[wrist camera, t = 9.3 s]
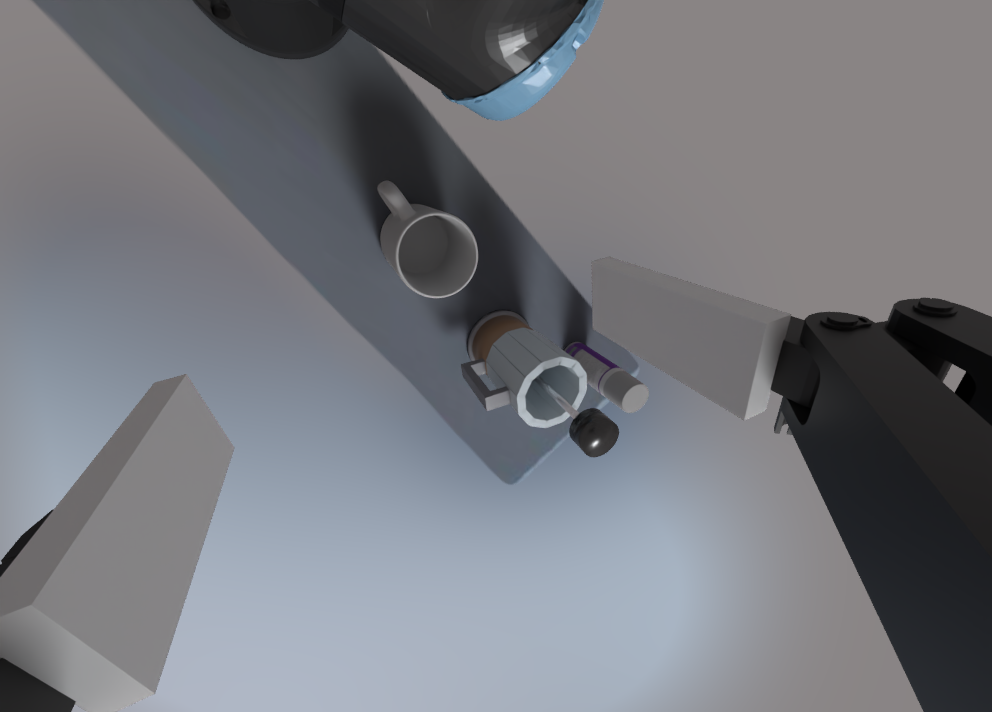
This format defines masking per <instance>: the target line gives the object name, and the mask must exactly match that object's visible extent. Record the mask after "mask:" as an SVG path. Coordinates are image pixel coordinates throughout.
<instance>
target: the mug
mask: <svg viewBox="0 0 992 712" xmlns="http://www.w3.org/2000/svg"><path fill="white" fill-rule="evenodd" d="M377 190H378V192H379V194H380V196H381V198H382V199H383V201H384V202H385V204H386V205H387V207H388V208H389V209H390V211H391V212H392V213H391V214H390V215H389V216H388V217H387V219H386V220H385V222H384V224H383V226H382V229H381V236H380V242H381V248H382V251H383V254H384V256H385V258H386V260H387V261H388V263H389V264H390V265H391V266H392V267H393V269H394V270H395V271H396V273H397V274H398V275H399V277H400V278H401V279H402V281H403V282H404V283H405V284H406V285H407V286H408V287H409V288H410V289H411V290H413V291H414V292H416V293H418V294H420V295H422V296H425V297H430V298H443V297H448V296H451V295H453V294H455V293H457V292H459V291H460V290H461V289H463V288H464V287H465V286H466V285H467V284H468V283H469V281H470V280H471V278H472V276H473V275H474V272H475V270H476V267H477V262H478V247H477V243H476V240H475V237H474V235H473V233H472V232H471V230H470V229H469V227H468V226H467V225H466V224H465V223H464V222H463V221H462V220H461V219H459V218H458V217H456V216H454V215H452V214H449V213H446V212H443V211H440V210H437V209H433V208H431V207H428V206H425V205H421V204H409V203H408V201H407V200H406V198H405V197H404V195H403V194H402V193H401V191H400V190H399V189H398V188H397V187H396V185H395V184H393V183H392V182H391V181H388V180H386V181H383V182H381V183H380V184H379V185H378V187H377Z"/></svg>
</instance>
